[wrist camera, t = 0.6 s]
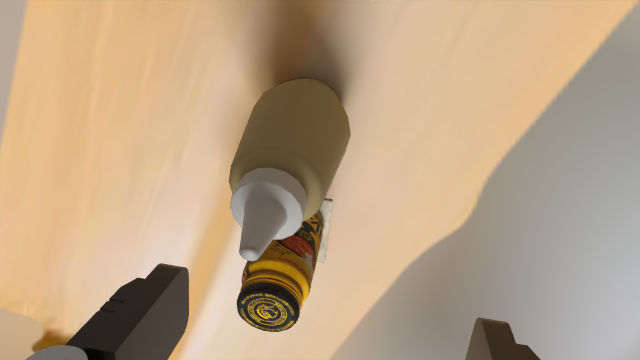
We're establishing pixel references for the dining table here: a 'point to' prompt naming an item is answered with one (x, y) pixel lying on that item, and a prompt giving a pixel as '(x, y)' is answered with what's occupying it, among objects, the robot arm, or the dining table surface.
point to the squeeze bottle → (286, 161)
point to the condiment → (284, 275)
